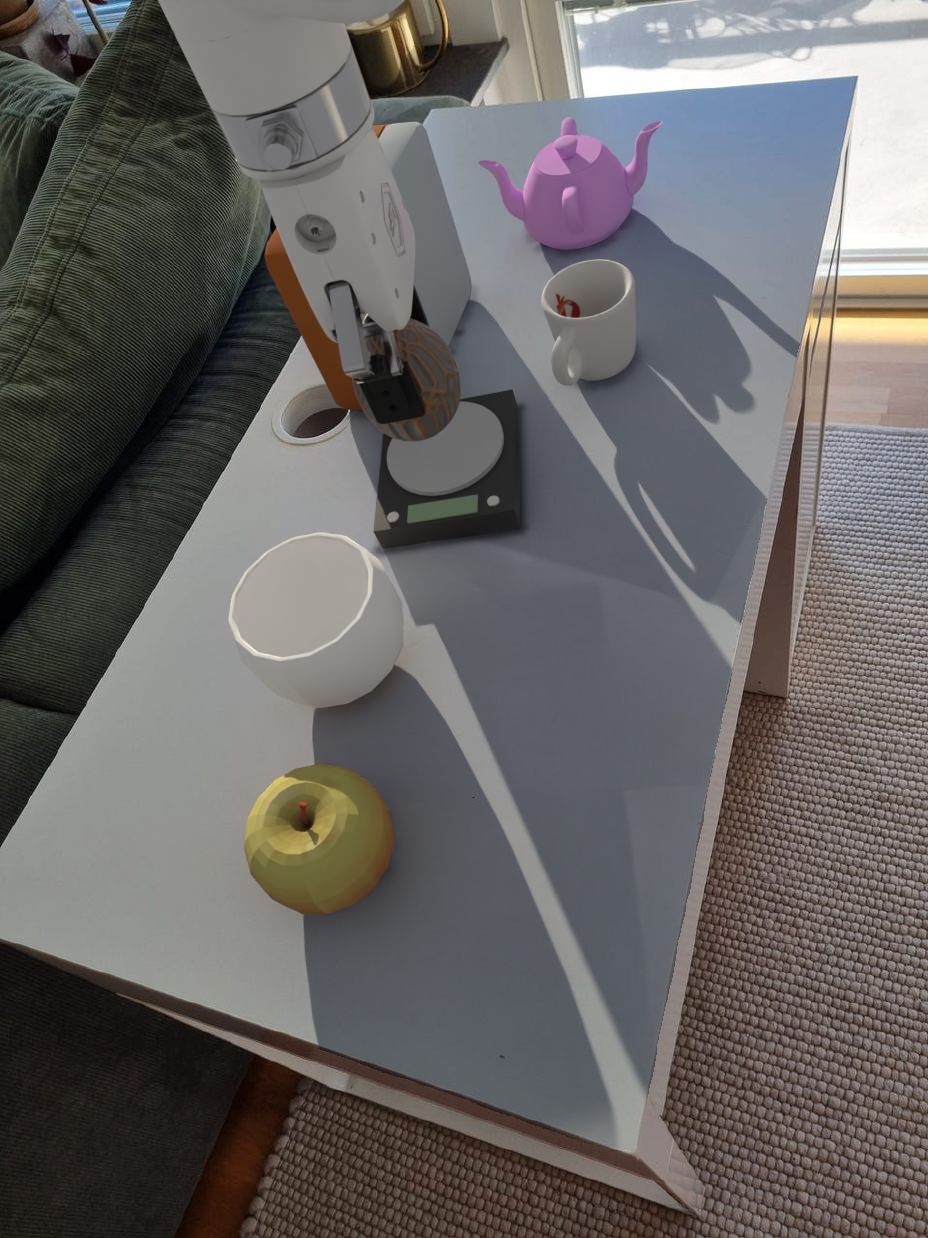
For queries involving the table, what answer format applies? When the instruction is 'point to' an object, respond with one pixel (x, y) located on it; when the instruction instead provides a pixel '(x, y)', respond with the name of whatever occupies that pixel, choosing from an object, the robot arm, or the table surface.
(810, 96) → the table surface
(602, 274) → the cup
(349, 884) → the apple
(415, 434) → the vase
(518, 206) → the teapot
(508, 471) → the scale
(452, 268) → the alarm clock
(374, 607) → the cup
